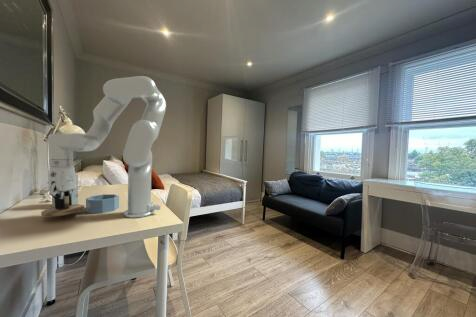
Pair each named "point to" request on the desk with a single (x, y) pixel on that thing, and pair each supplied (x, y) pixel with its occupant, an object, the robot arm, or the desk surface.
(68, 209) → the walnut lid
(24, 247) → the desk surface
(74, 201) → the skincare box
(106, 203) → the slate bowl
